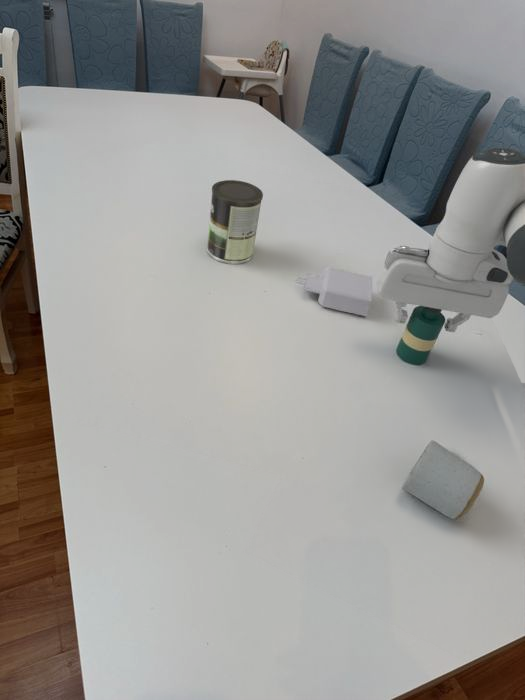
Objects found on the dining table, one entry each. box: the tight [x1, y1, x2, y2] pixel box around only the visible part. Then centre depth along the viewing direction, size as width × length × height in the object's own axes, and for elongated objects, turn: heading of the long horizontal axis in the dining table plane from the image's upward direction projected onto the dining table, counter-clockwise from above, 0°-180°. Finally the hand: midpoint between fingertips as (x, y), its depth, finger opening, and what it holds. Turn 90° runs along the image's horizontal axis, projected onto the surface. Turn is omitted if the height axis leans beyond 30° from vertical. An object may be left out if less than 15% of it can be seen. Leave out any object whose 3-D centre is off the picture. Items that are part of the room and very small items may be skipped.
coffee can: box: [206, 179, 264, 265], centre depth 104 cm, size 10×10×14 cm
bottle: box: [395, 305, 446, 366], centre depth 87 cm, size 6×6×12 cm
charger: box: [294, 267, 373, 317], centre depth 99 cm, size 5×9×15 cm
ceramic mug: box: [401, 440, 485, 520], centre depth 66 cm, size 11×8×8 cm
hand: (424, 325), depth 86 cm, fingers open, 7 cm apart
